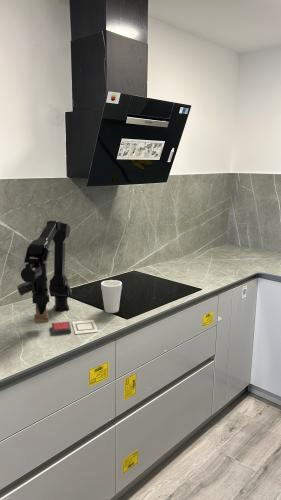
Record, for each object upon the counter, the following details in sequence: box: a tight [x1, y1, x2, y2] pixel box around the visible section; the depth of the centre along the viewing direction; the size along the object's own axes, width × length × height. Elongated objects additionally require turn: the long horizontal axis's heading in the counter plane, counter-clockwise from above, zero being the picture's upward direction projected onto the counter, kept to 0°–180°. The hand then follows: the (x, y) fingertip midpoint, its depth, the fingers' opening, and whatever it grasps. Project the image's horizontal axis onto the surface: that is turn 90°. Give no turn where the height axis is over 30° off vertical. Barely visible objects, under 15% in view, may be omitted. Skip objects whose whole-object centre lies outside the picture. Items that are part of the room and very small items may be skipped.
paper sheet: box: [71, 319, 99, 336], centre depth 161 cm, size 12×9×1 cm
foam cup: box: [100, 279, 123, 314], centre depth 178 cm, size 10×9×13 cm
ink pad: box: [51, 321, 72, 336], centre depth 159 cm, size 8×7×2 cm
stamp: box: [34, 303, 49, 324], centre depth 157 cm, size 5×5×8 cm
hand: (41, 312), depth 157 cm, fingers closed on stamp, 4 cm apart
